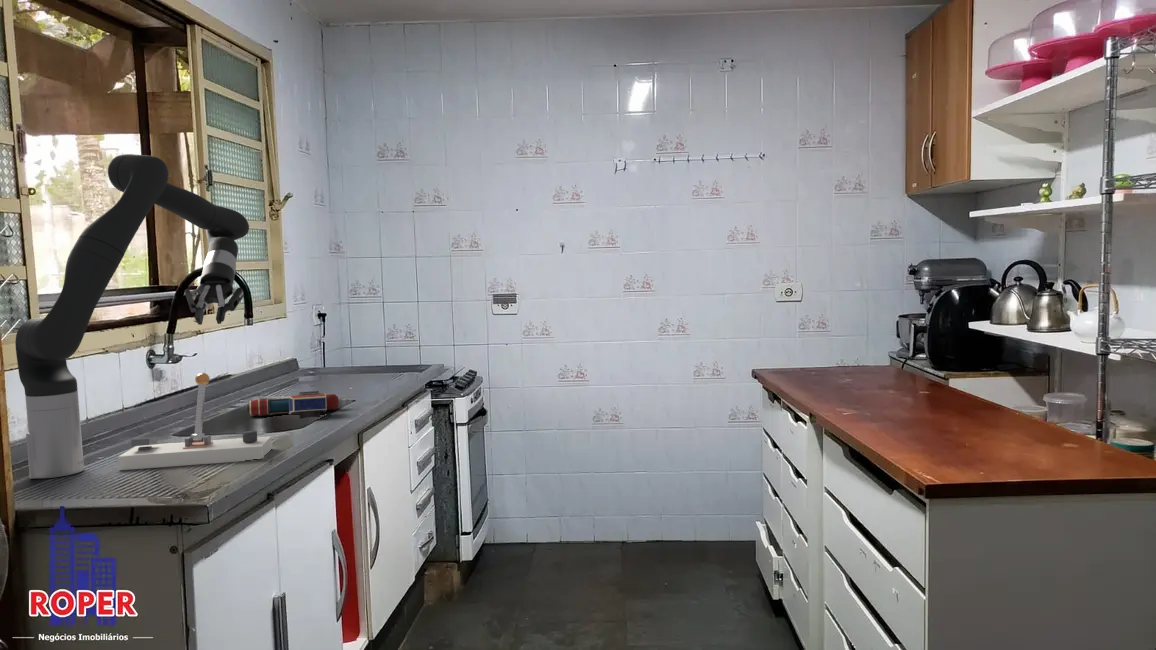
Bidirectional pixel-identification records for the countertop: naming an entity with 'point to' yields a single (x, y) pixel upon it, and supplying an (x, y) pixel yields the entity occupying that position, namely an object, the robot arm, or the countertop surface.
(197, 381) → the toggle lever
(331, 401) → the tool
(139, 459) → the control panel
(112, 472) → the countertop surface
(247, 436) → the push button
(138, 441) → the rocker
